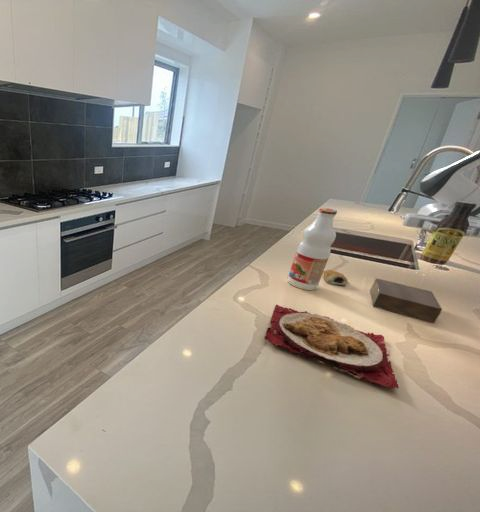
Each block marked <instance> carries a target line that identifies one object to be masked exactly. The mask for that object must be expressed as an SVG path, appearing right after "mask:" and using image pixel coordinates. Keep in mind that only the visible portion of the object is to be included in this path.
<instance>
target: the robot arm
mask: <svg viewBox="0 0 480 512" xmlns="http://www.w3.org/2000/svg"><path fill="white" fill-rule="evenodd" d="M478 166H480V149H477V150H476V151H474V152H472V153H470V154H468V155H466V156H464V157H462V158H460V159H458V160H456V161H454V162H452V163H450V164H448V165H445V166H443V167H441V168H439V169H437V170H434V171H432V172H430V173H428V174H426V176H424V178H422V179H421V180H420V182H419V191H420V193H421V194H424V195H425V196H427V197H429V198H431V199H434V200H435V201H436V202H434V203H433V202H432V203H428V204H425V205H423V206H422V207H421V208H419V210H418V211H417V213H411V212H409V213H406V214H405V215H403V214H402V215H401V216H400V219H402V222H401V224H402V226H404V227H407V228H408V227H409V228H415V229H421V230H425V231H426V233H429V234H431V235H432V234H433V232H434V231H436V230H437V228H438V225H439V223H440V221H441V220H442V219H444V218H445V217H447V216H448V215H450V213H451V212H452V210H453V209H454V207H455V203H456V202H457V201H467V202H472V203H476V204H477V205H476V207H475V208H474V209H473V210H472V212H471V213H470V215H469V217H468V221H469V227H468V229H467V230H466V232H465V234H464V236H463V237H470V238H478V239H480V216H478V215H479V214H480V185H479V184H477V183H475V182H474V181H473V180H471V179H469V178H468V177H467V176H465V175H464V173H465V172H468V171H470V170H472V169H474V168H476V167H478Z"/></svg>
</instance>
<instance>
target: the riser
mask: <svg viewBox="0 0 480 512" xmlns="http://www.w3.org/2000/svg"><path fill="white" fill-rule="evenodd" d="M369 292H370V297H371V303H372V307H374V308H377V309H380V310H385V311H388V312H391V313H396V314H399V315H403V316H406V317H410V318H414V319H417V320H420V321H424V322H427V323H431V324H435V323H436V321H437V319H438V318H439V316H440V314H441V313H442V310H443V308H442V306H441V305H440V303H439V301H438V299H437V298H436V297H435V295H434V293H433V291H431V290H427V289H423V288H419V287H415V286H411V285H406V284H403V283H398V282H393V281H389V280H386V279H381V278H376V277H375V279H374V281H373V284H372V285H371V288H370V291H369Z"/></svg>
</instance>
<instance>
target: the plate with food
mask: <svg viewBox="0 0 480 512" xmlns="http://www.w3.org/2000/svg"><path fill="white" fill-rule="evenodd" d="M272 312H273V313H272V315H271V318H270V320H269V323H270V324H271V326H269V327H267V329H266V332H265V335H264V338H263V339H264V340H266V341H268V343H272V344H274V346H281V347H283V348H286V349H288V351H289V353H290V352H291V353H293V354H300V355H301V356H304V357H307V358H309V359H313V360H317V361H318V363H322V364H323V365H325V362H323V360H320V359H319V358H316V357H321V358H324V359H326V360H328V361H333V362H334V363H337V364H339V366H338V367H339V368H338V367H335V366H333V369H334V371H338V373H340V374H341V373H342V372H343V373H346V374H348V375H349V376H350V377H353V378H354V379H358V380H361V381H363V380H364V382H369V383H370V384H372V383H374V384H378V385H380V386H383V387H387V388H391V389H399V388H400V386H399V384H398V380H397V379H396V374H395V373H394V372H395V371H394V370H393V367H392V362H391V360H389V359H388V357H390V354H389V353H388V354H387V348H386V343H384V342H385V336H384V335H383V334H374V332H371V333H370V332H367V333H366V332H363V331H361V330H359V329H355V328H354V327H351V325H348V324H346V323H343V322H340V321H339V322H338V321H337V320H335V319H333V318H331V317H329V316H326V315H324V316H323V315H319V314H317V313H311V312H308V311H307V310H305V311H298V310H296V309H293V308H292V307H283V306H281V305H279V304H275V305H274V309H273V311H272ZM314 356H316V357H314Z"/></svg>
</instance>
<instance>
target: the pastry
mask: <svg viewBox="0 0 480 512" xmlns="http://www.w3.org/2000/svg"><path fill="white" fill-rule="evenodd" d="M322 276H323V279H324V280H325V283H327V284H330V285H336V286H337V285H338V286H339V285H340V286H345V285H347V284H348V283H349V281H348V278H347V277H346V276H345V275H344V274H343V273H341V272H339V271H334V270H332V269H326V270H324V271H323V274H322Z"/></svg>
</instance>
